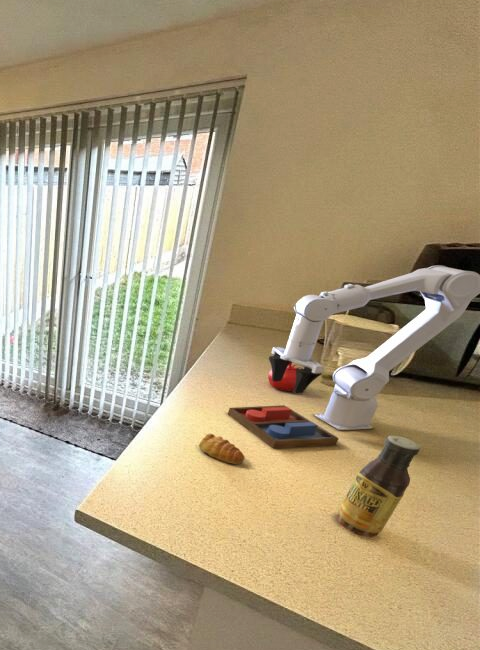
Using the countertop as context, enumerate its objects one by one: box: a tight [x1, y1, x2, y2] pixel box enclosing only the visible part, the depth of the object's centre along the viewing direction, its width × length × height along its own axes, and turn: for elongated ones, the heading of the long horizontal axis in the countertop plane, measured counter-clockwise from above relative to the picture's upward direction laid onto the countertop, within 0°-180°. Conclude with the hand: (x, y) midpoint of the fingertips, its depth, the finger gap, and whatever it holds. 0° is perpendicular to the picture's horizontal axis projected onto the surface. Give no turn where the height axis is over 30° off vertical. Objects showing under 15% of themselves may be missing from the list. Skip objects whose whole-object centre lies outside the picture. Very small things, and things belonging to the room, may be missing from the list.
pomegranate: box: [267, 362, 303, 392], centre depth 128 cm, size 10×10×9 cm
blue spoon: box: [267, 421, 319, 439], centre depth 102 cm, size 12×4×3 cm, turn 93°
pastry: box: [198, 433, 246, 465], centre depth 96 cm, size 9×7×4 cm
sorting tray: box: [227, 404, 340, 449], centre depth 107 cm, size 17×17×2 cm
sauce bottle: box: [336, 435, 421, 538], centre depth 71 cm, size 7×6×20 cm
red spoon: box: [245, 406, 293, 422], centre depth 110 cm, size 12×4×3 cm, turn 93°
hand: (286, 386), depth 109 cm, fingers open, 7 cm apart
